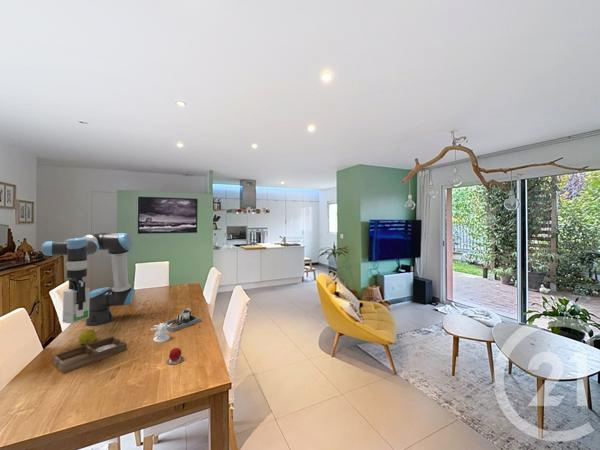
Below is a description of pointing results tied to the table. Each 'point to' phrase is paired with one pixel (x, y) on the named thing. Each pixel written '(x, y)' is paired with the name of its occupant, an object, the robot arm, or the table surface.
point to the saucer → (104, 347)
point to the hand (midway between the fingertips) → (76, 314)
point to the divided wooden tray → (87, 354)
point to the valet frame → (172, 329)
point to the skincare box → (74, 306)
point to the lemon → (87, 337)
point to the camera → (184, 316)
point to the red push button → (175, 356)
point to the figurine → (161, 332)
